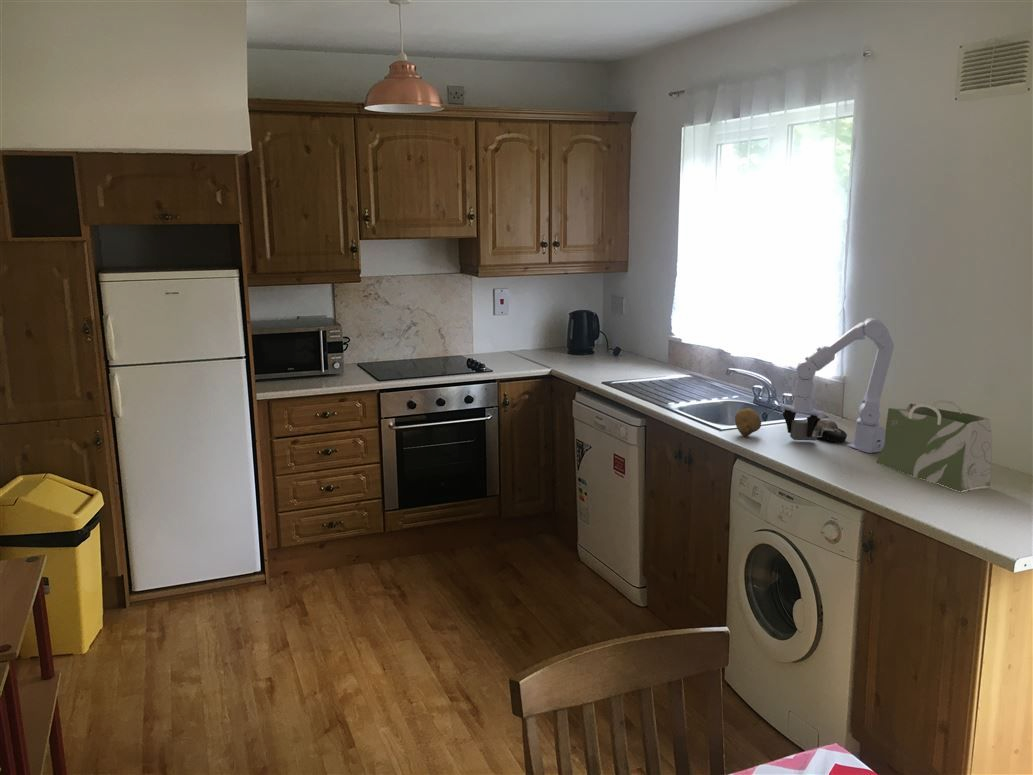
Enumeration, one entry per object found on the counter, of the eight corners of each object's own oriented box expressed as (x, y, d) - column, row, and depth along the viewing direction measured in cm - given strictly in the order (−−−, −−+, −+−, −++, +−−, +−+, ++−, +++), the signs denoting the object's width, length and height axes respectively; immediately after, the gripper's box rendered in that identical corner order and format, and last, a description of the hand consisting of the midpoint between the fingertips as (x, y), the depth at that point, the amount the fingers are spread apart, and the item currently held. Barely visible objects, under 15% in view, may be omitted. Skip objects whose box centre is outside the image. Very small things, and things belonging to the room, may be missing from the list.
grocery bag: (872, 463, 277) (880, 392, 272) (904, 458, 283) (912, 389, 278) (958, 493, 248) (969, 414, 244) (992, 488, 254) (1003, 411, 249)
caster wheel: (846, 450, 301) (819, 445, 300) (834, 435, 311) (808, 431, 310) (852, 433, 298) (825, 428, 297) (840, 418, 309) (814, 414, 308)
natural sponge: (757, 433, 310) (760, 406, 308) (762, 439, 302) (764, 411, 300) (731, 432, 311) (734, 405, 309) (735, 438, 303) (737, 410, 301)
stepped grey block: (815, 440, 297) (817, 423, 296) (794, 440, 297) (795, 423, 296) (811, 437, 302) (813, 420, 301) (790, 436, 302) (791, 419, 301)
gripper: (829, 398, 294) (825, 436, 297) (790, 390, 304) (786, 428, 307) (818, 400, 289) (814, 440, 292) (779, 393, 300) (776, 431, 302)
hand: (799, 434), depth 299 cm, fingers closed on stepped grey block, 7 cm apart
